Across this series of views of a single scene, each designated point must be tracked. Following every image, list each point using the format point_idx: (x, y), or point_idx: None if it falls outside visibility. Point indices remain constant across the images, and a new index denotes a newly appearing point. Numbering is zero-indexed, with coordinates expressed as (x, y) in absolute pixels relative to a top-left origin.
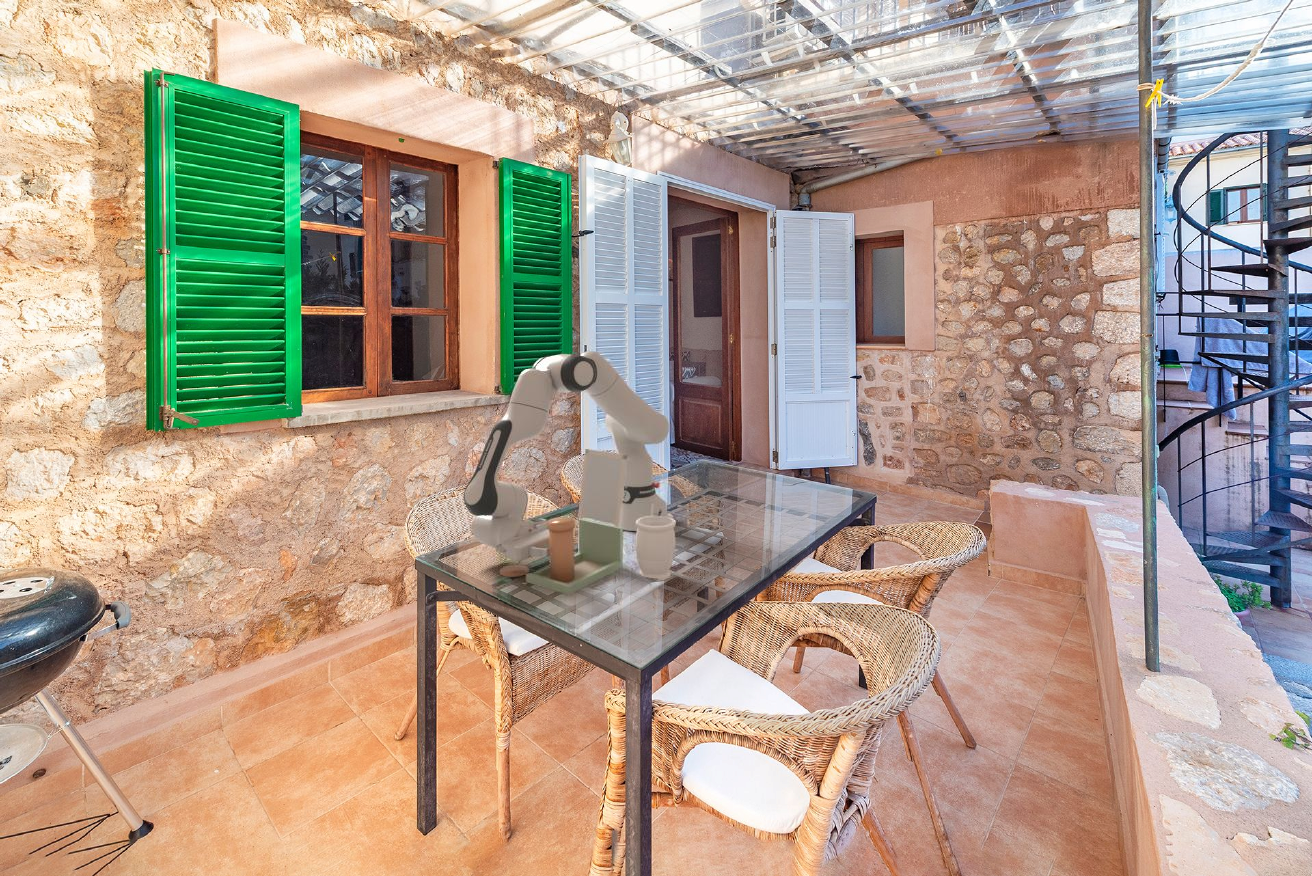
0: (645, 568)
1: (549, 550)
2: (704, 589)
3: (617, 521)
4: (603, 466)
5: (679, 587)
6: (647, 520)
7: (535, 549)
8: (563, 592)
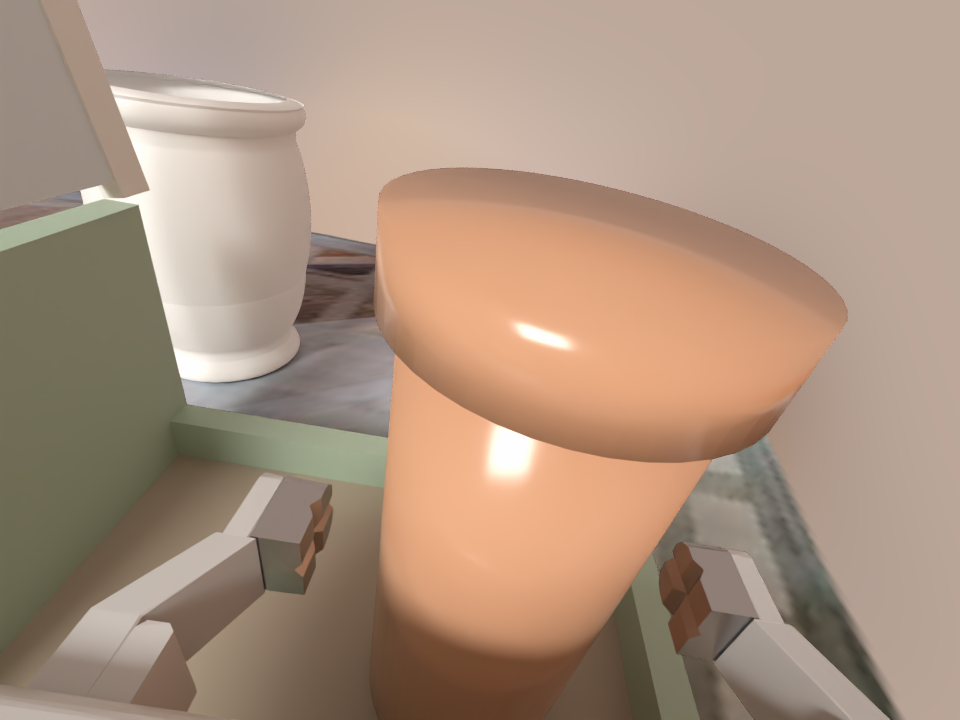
0: (295, 313)
1: (683, 545)
2: (319, 268)
3: (123, 148)
4: None
5: (323, 298)
6: None
7: (849, 695)
8: None
